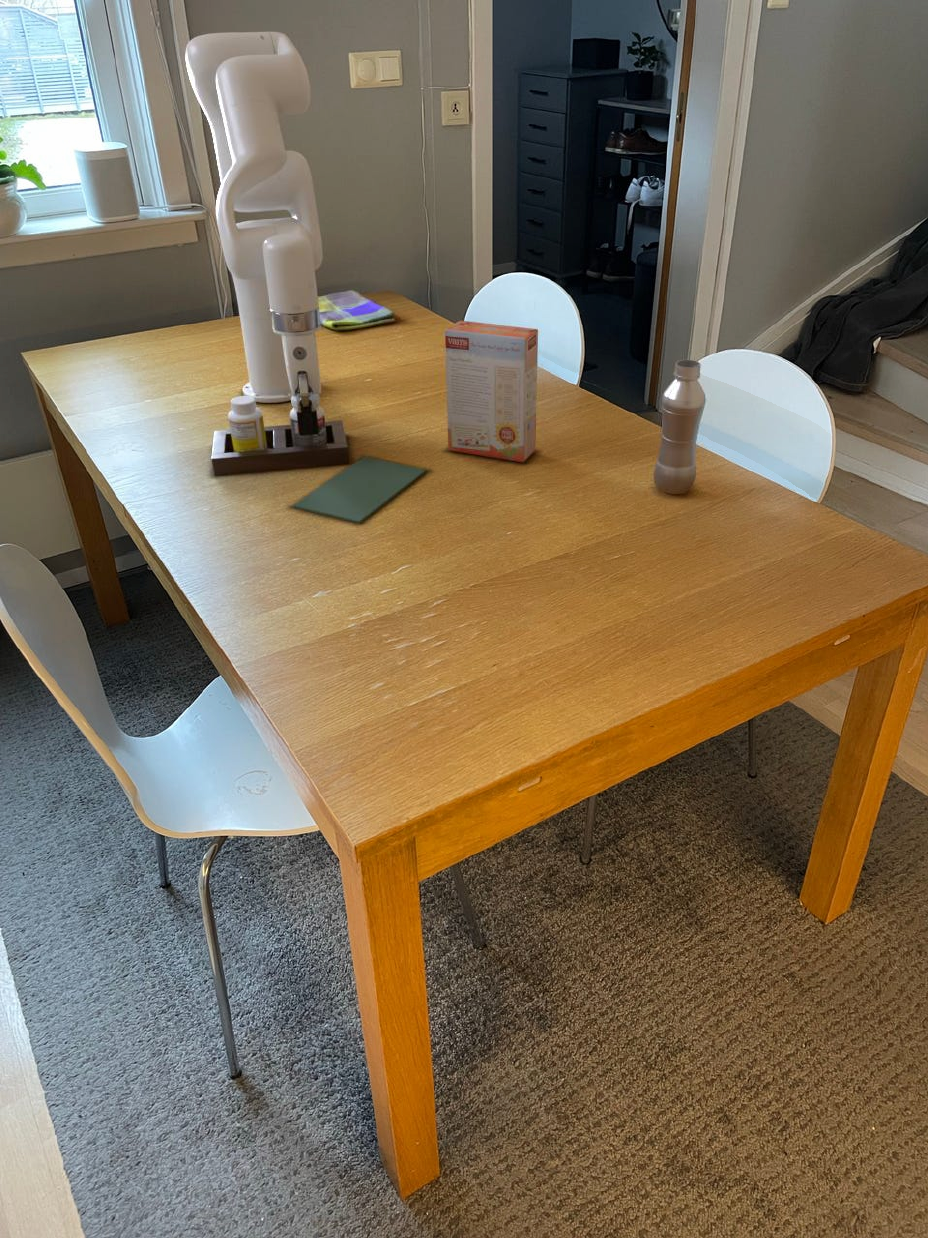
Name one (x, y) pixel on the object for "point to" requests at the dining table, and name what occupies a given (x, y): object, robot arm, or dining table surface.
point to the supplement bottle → (246, 425)
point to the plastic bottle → (680, 429)
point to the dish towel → (351, 311)
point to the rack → (279, 451)
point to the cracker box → (491, 389)
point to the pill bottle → (308, 439)
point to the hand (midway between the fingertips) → (308, 423)
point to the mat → (360, 489)
